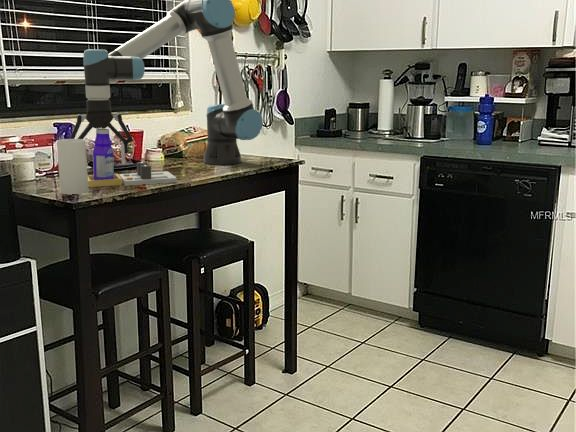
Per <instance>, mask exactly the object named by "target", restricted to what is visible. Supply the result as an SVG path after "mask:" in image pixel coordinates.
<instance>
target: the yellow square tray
mask: <svg viewBox="0 0 576 432" xmlns="http://www.w3.org/2000/svg"><path fill="white" fill-rule="evenodd" d="M111 186H123V182H122V178H121V177H120V176H119V174H118V173H114V178H113V179H106V180H94V174H89V175H88V188H92V187H93V188H96V187H111Z"/></svg>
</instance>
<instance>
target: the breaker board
mask: <svg viewBox="0 0 576 432" xmlns="http://www.w3.org/2000/svg"><path fill="white" fill-rule="evenodd" d="M118 175H119V176H120V177H121V178H122V185H124V186H125V187H126V186H127V187H128V186H139V185H140V186H141V185H142V186H143V184H145V185H155V184H157V183H160V184H170V183H169V182H176V183H178V178H177V177H176V176H175V175H174V174H172V173H171V172H169V171H154V172H153V171H151V178H146V179H142V178H141V175H138V174H137V172H134V173H119V174H118Z"/></svg>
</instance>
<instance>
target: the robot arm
mask: <svg viewBox="0 0 576 432" xmlns="http://www.w3.org/2000/svg"><path fill="white" fill-rule="evenodd" d="M235 16H236V10H235V6H234V4H233V2H232V0H183V1H182V2H180V3H179V4H177V5H176V6H174V7H173V8H171V9H170V10H169V11H168V12H167V13H166V16H165V17H163V18H162V19H160V20H159V21H157V22H156V23H154V24H153V25H151V26H150V27H148V28H147V29H145V30H143V31H142V32H141V33H139V34H137V35H135V37H133V38H131V39H130V40H128V41H126V42H125V43H123V44H122V45H120V46H119V47H117V48H116V49H114V50H113V51H111V52H108V51H107V49H85V50H84V52H83V56H82V58H83V61H82V63H83V73H84V85H85V98H86V99H87V100H86V102H85V103H86V115H84V114H83V115H82V114H77V115H76V122H75V125H74V127H73V129H72V132H71V134H70V136H69V138H68V139H84V140H85V137H87V135H88V133H90V131H91V130H92V129H100V128H104V129H109V130H111V131H112V132H113V134H114V135H116V137H118V138H119V140H120V141H121V142H122V143H120V153H121V164H123V165H126V154H127V155H128V152H129V149H128V148H129V146H128V144H129V143H132V142H133V141H134V138H133V136H132V135H131V134H130V133H131V132H130V131H129V130H128V128H127V127H126V125H125V123H124V121H123V117H122V114H120V113H117V114H113V113H112V105H111V103H112V102H111V99H110V98H111V87H110V86H111V85H110V84H111V83H110V81H136V80H137V81H138V80H142V78H143V77H144V76H145V63H144V60H143V59H144V58H146V57H148V56H149V55H151V54H152V53H153V52H155V51H157V50H158V49H160V48H161V47H163V46H164V45H166V44H167V43H168V42H170V41H171V40H174V39H175V38H177V36H184V35H186V34H187V33H190V32H192V31H195V30H199V32H200V34H201V37H202V38H203V39H204V40H206V41H207V44H208V48H209V52H210V54H211V59H212V62H213V65H214V69H215V73H216V77H217V80H218V83H219V87H220V91H221V94H222V98H223V102H224V103H222V104H211V105H209V106H208V107H207V109H206V125H207V126H206V128H207V129H206V132H207V136H206V137H207V143H206V144H207V145H206V147H205V151H204V154H203V163H204V164H206V165H207V164H208V165H215V166H216V165H222V166H223V165H225V166H226V165H236V164H240V163H241V162H242V154H241V153H240V149H239V147H238V141H237V140H240V141H250V140H254V139H255V138H257V137H258V136H259V134H260V133H261V130H262V129H263V127H264V126H263V125H264V124H263V123H264V121H263V115H262V114H261V113H260V112H259V111H258V110H256V109H254V108H255V107H254V104H253V101H252V100H251V99H249V97H247V93H246V89H245V86H244V81H243V77H242V74H241V71H240V67H239V62H238V58H237V54H236V51H235V47H234V44H233V41H232V36H231V34H232V31H233V30H234V27H233V22H234V21H235V20H234V18H235ZM113 119H114V120H115V121H116V122H118V124H119V126H120V129H122V131H123V133H124V136H125V137H126V138H125V137H124V136H123V135H122V134H121V133H120V132H119V131H118V130H117V128H115V126H114V125H113V124H112V123H111V122H112V120H113ZM85 120H86V121H87V122H88V124H87V125H86V127H85V128H84V130H83V131H82V132H81V133H80V134H79V136H78V137H77V138H76V136H77V134H78V132H79V129H80V127H81V125H82V123H84V121H85Z"/></svg>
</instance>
